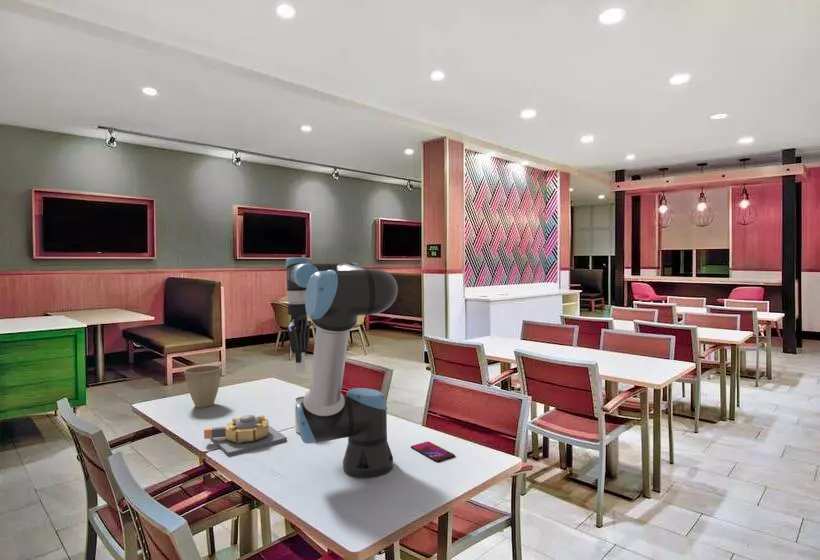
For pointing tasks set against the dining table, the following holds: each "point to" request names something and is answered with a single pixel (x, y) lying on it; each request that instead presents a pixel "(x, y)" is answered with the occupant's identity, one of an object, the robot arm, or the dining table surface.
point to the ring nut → (239, 431)
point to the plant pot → (203, 384)
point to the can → (298, 400)
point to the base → (241, 447)
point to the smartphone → (433, 451)
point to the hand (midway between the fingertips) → (300, 371)
